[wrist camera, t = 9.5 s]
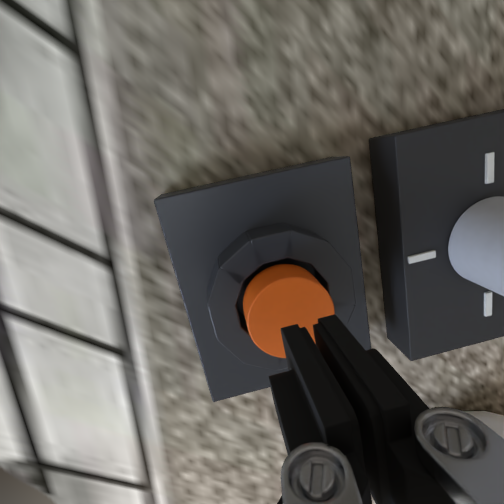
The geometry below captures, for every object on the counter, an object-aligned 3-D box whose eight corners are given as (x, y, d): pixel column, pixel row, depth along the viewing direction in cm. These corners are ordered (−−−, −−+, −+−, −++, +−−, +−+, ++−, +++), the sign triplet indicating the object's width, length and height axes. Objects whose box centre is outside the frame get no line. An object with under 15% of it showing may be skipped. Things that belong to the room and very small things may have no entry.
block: (160, 194, 16) (145, 205, 12) (332, 156, 17) (369, 155, 13) (212, 376, 19) (213, 429, 16) (355, 339, 20) (390, 381, 16)
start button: (234, 274, 14) (238, 289, 12) (314, 254, 14) (329, 267, 13) (251, 345, 15) (257, 368, 13) (325, 326, 15) (340, 346, 14)
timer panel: (368, 138, 17) (396, 134, 14) (527, 103, 17) (582, 94, 15) (386, 338, 20) (412, 363, 18) (519, 303, 21) (562, 323, 18)
